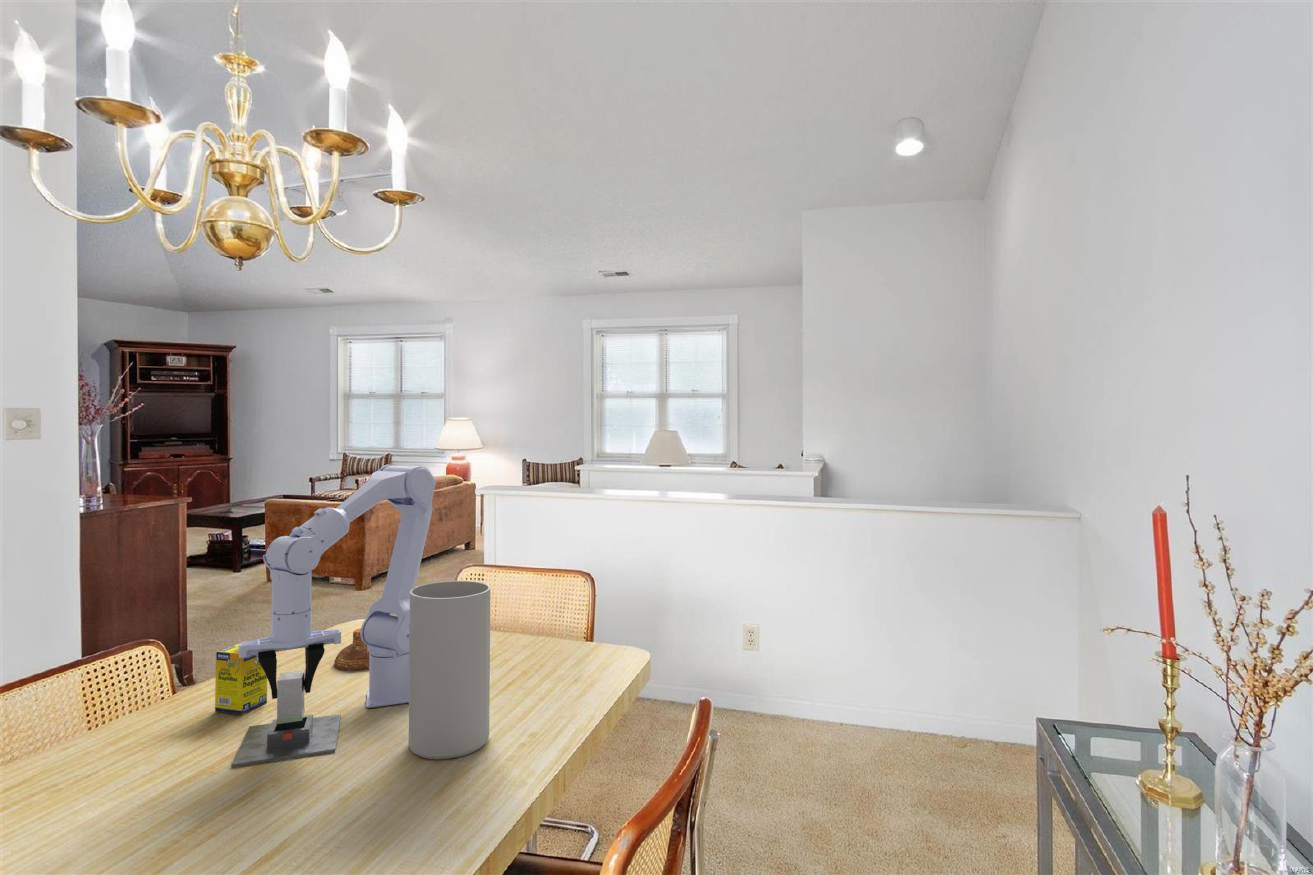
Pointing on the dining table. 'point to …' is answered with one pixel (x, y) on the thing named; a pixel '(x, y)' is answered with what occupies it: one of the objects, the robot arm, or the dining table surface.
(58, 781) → the dining table surface
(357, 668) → the bell
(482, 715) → the cylinder vase
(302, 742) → the stand base
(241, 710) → the supplement box
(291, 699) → the column
